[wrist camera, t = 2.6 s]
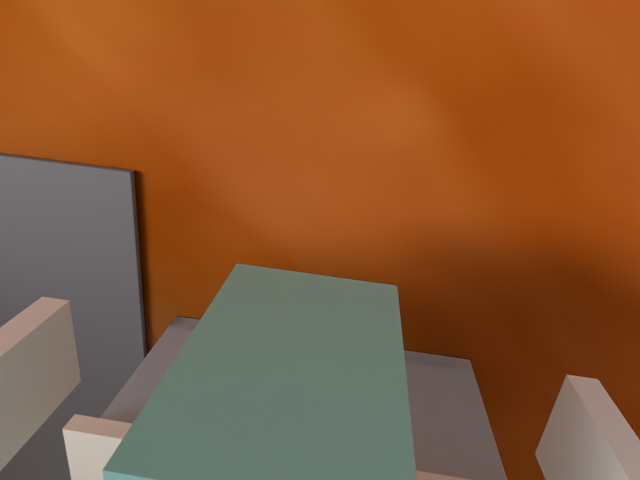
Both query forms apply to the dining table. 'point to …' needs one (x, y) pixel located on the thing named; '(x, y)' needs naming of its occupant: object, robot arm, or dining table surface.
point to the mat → (73, 284)
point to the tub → (424, 400)
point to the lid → (270, 391)
